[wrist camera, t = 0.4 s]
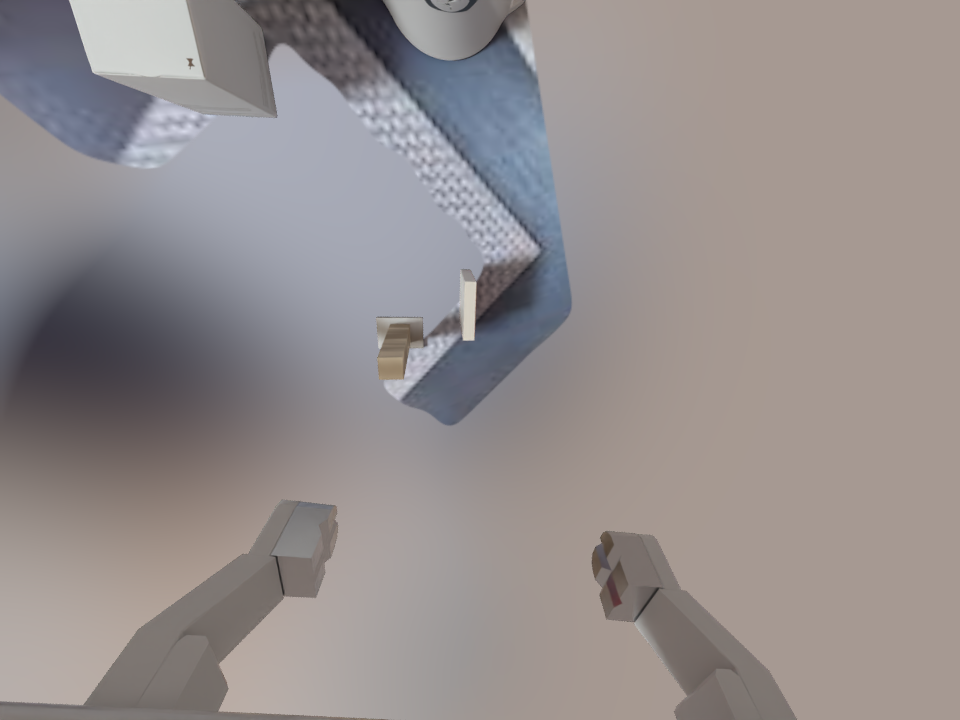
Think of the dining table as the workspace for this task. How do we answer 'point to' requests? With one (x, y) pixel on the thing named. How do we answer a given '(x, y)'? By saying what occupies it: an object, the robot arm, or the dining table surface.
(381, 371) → the wooden post on base
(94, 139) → the dining table surface
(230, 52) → the supplement box
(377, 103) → the dining table surface
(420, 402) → the dining table surface
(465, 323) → the tile
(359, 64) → the dining table surface
